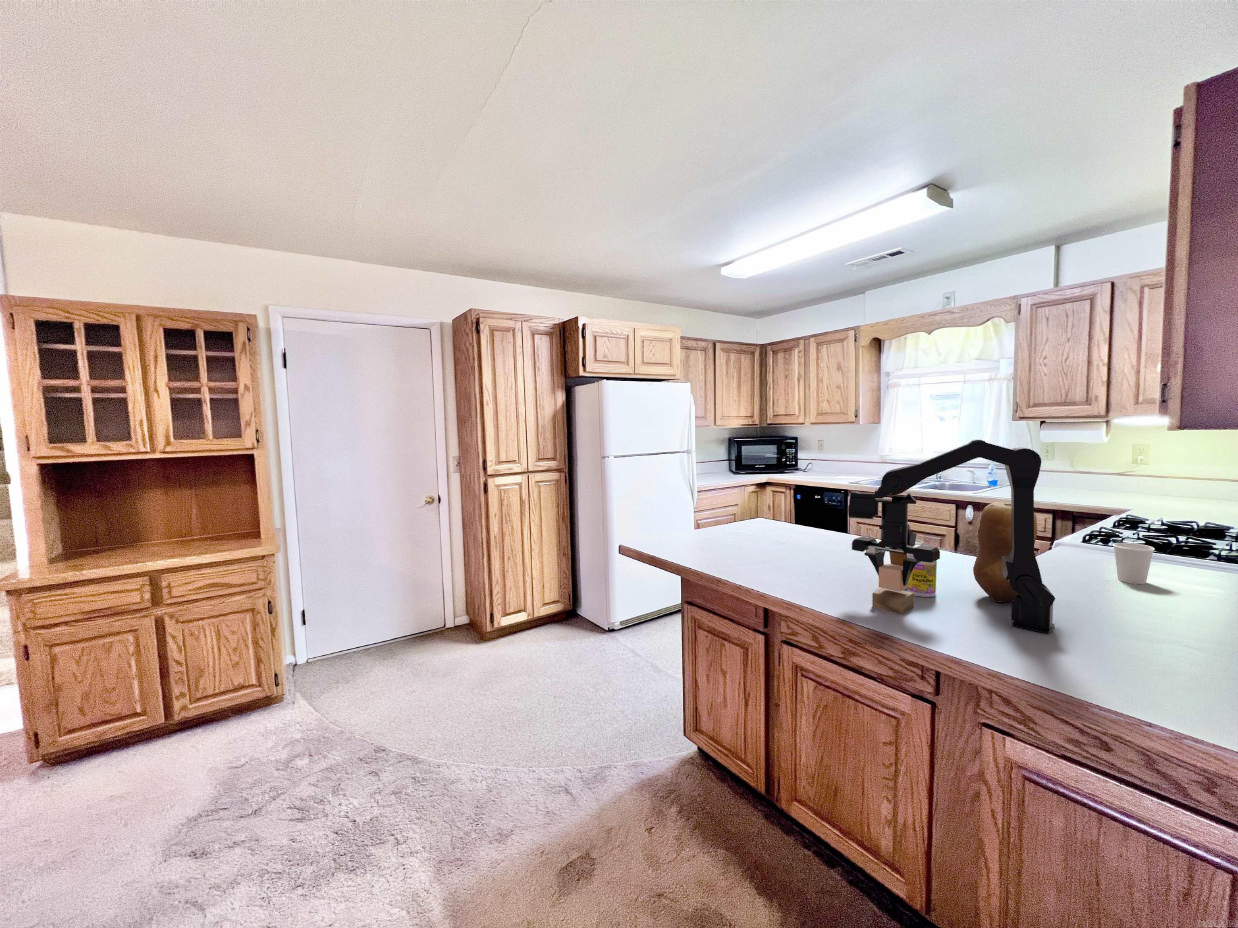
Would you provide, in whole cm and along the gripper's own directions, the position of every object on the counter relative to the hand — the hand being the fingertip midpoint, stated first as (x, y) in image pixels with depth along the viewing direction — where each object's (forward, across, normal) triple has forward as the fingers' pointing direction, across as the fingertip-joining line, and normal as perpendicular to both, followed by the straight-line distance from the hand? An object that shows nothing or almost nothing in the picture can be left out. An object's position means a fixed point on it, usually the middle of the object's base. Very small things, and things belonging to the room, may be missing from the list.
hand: (893, 582), depth 128 cm
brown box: (+6, 0, 0) cm, 7 cm away
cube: (+1, 0, 0) cm, 1 cm away
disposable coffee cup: (+6, +6, -24) cm, 26 cm away
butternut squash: (+6, -17, -25) cm, 31 cm away
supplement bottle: (+6, -1, -16) cm, 17 cm away
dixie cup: (+6, -37, -69) cm, 78 cm away
